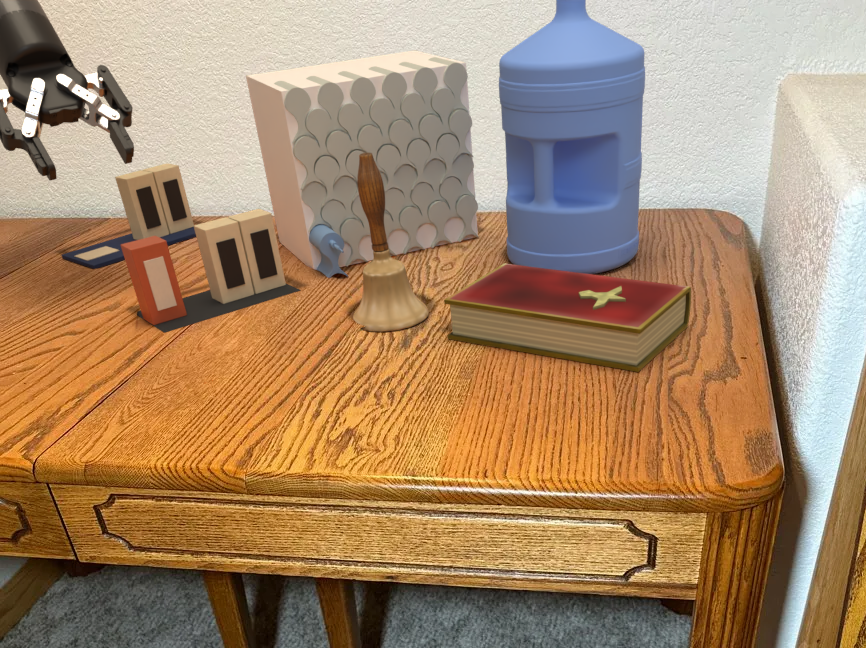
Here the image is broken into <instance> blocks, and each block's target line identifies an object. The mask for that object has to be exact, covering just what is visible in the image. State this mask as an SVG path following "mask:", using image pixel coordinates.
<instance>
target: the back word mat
mask: <svg viewBox="0 0 866 648" xmlns="http://www.w3.org/2000/svg"><path fill="white" fill-rule="evenodd" d="M114 179H115V181H116V186H117V188H118V192H119V195H120V199H121V201H122V205H123V208H124V212H125V215H126V218H127V221H128V225H129V228H130V232H131V233H128V234H124V235H122V236H118V237H115V238H112V239H108V240H105V241H102V242H98V243H95V244H92V245H89V246H85V247H82V248H79V249H75V250H71V251H69V252H66V253H63V254H61V258H62V259H64V260H66V261H69V262H72V263H75V264H78V265H80V266H83V267H87V268H90V269H93V270H98V269H100V268H104V267H106V266H109V265H113V264H115V263H116V264H117V263H119V262H123V261H125V258H124V255H123V251H122V248H121V244H125V243H128V242H132V241H136V240H140V239H144V238H148V237H152V236H157V237H159V238H161V239H164V240H166V242H167V245H168V247H169V246H172V245H176V244H178V243H181V242H185V241H188V240H190V239H193V238H194V239H195V238H197V237H196V233H195V229H194V225H195V223H194V221H193V220H194V219H193V216H192V212H191V207H190V204H189V200H188V196H187V192H186V188H185V185H184V180H183V176H182V174H181V169H180V165H178V164H174V163H168V162H166V163H163V164H159V165H155V166H150V167H147V168H144V169H140V170H136V171H133V172H128V173H125V174H121V175H117V176H114Z"/></svg>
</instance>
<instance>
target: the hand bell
mask: <svg viewBox="0 0 866 648" xmlns="http://www.w3.org/2000/svg"><path fill="white" fill-rule="evenodd" d="M357 184H358V192H359V197H360V201H361V204H362V208H363V210H364V212H365V215H366V217H367V219H368V222H369V227H370V234H371V243H372V249H373V255H374V259H373V260H370V261H369V262H368V263H367V264H366V265H364V267H363V268H362V280H363V281H362V282H363V283H362V296H361V300H360V302H359V306H358V307H357V309H356V310H355V311H354V313H353V314H352V315H353V316H352V320H353V321H354V322H355V323H357V324H358V325H360V326H362V327H360V328H359V329H360V330H364V331H368V332H376V333H377V332H378V333H380V332H381V333H383V332H392V331H394V332H395V331H399V330H404V329H408V328H411V327H415V326H417V325H418V324H421V323H422V322H424V321H425V320H426V319H427V318H428V317H429V313H430V310H429V308H428V307H427V305H426V304H425V303H424V302H423V301H422V300H420V299H419V298H418V296H417V295H416V294H415V292H414V290H413V289H412V286H411V283H410V281H409V277H408V274H407V269H406V266H405V264H404V263H403V262H402V261H401V260H399V259H395V258H393V256H390V251H389V248H388V243H387V237H386V232H385V226H384V211H385V191H384V185H383V180H382V177H381V174H380V172H379V169H378V167H377V165H376V163H375V161H374V158H373V155H372V153H362V154H360V155H359V169H358V178H357Z"/></svg>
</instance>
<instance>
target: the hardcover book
mask: <svg viewBox="0 0 866 648" xmlns="http://www.w3.org/2000/svg"><path fill="white" fill-rule="evenodd" d="M443 302H444V303H443V304H444V305H449V309H450V319H451V330H452V331H451V332H449V333H448V334H447V339H448V340H453V341H458V342H465V343H470V344H476V345H480V346H481V345H482V346H487V347H493V348H498V349H505V350H511V351H514V352H515V351H516V352H521V353H526V354H527V353H528V354H534V355H539V356H544V357H551V358H557V359H563V360H567V361H572V362H573V361H574V362H579V363H584V364H591V365H597V366H603V367H606V368H607V367H608V368H614V369H619V370H625V371H631V372H635V373H636V372H637V373H639V372H640V371H641V370H643V368H644V367H646V366H647V365H648V364H649V363H650V362H651V361H653V359H655V357H657V356H658V355H659V354H660V353H661V352H662V351H663V350H664V349H666V348H667V346H669V345H670V344H671V343H672V342H673V341H674V340H675V339H676V338H677V337H679V336H680V335H681V334H682V333H683V332H684V331H686V329H687V328H689V327H688V326H689V322H690V316H691V306H692V287H691V286H688V285H680V284H671V283H664V282H656V281H648V280H640V279H632V278H624V277H617V276H607V275H600V274H585V273H577V272H569V271H561V270H553V269H545V268H537V267H529V266H521V265H513V264H512V263H505V262H504V263H502V264H501V265H499V266H497V267H496V268H494V269H492V270H490V271H489V272H487V273H486V274H484V275H483V276H480V277H479V278H478V279H476V280H474V281H472V282H471V283H469V284H468V285H466V286H465V287H462V288H461V289H459V290H457V291H456V292H454V293H453V294H451V295H449V296H447V297H446V298H444V299H443Z"/></svg>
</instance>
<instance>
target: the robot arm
mask: <svg viewBox="0 0 866 648" xmlns="http://www.w3.org/2000/svg"><path fill="white" fill-rule="evenodd" d="M96 69H97V70H96V72H92V73H88V74H84V73H82V72H81V71H80V70H78V68H77V67H76V66H75V64H74V63H73V60H72V58H71V56H70V54H69V53H68V51H67V49H66V47H65V46H64V44H63V42H62V40H61V38H60V37H59V35H58V33H57V32H56V30H55V28H54V26H53V24H52V22H51V21H50V19H49V17H48V15H47V14H46V12H45V10H44V9H43V6H42V5H41V3H40V2H39V0H0V77H1V79H2V81H3V83H4V84H5V86H6V88H4V89H0V142H1V144H2V145H3V148H4V149H5V150H6V151H8V152H15V150H16V149H19V150H22V151H25V152H26V153H27V155H28V157H29V158H30V160H31V162H32V163H33V165H34V167H35V169H36V171H37V173H39V175H41V176H42V177H47V179H48V181H55V180H57V179H58V178H57V168H56V166H55V163H54V162H53V159H52V157H51V156H50V154H49V152H48V150H47V149H46V147H45V146H44V144H43V142H42V140H41V134H42V130H43V126H44V125H49V127H50V128H52V127H57V126H59V125H62V124H66V123H67V124H73V123H78V122H79V120H81V121H83V122H84V123H86V124H88V125H89V126H90V127H93V128H94V127H98V128H100V129H102V130H103V131H105V132H107V133H108V134H109V138H110V141H111V142H112V144H113V146H114V147H115V149H116V151H117V153H118V154H119V156H120V158H121V160H122V161H123V163H124V164H125V165H127V164H132V163H133V158H134V157H135V145H134V142H133V140H132V138H131V137H130V135H129V133H128V131H127V130H126V128H130V127H132V124H133V120H132V117H133V105H132V103H131V102H130V100H129V99H128V97H127V96H126V94H125V92H124V91H123V90H122V88H121V86H120V85H119V83H118V81H117V80H116V79H115V77H114V75H113V74H112V72H111V71H110V69H109V68H108V66H106V65H104V64H99V65H98V66H97V67H96ZM90 89H91V90H94V91H95V93H97V94H98V95H96V94H95V93H93V92H91V91H89V90H90ZM101 98H104V99H105V101H106V103H107V104H105V103H104V102H102V100H101ZM9 104H11V105H13V106H14V107H15V108H17V109H18V110H19V111H21V112H23V113H24V120H23V124H22V128H21V129H19V128H14V127H13V125H12V122H11V121H10V118H9V116H8V114H7V113H8V112H9V106H8V105H9ZM86 105H87V107H88V109H87V108H85V107H86Z"/></svg>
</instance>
